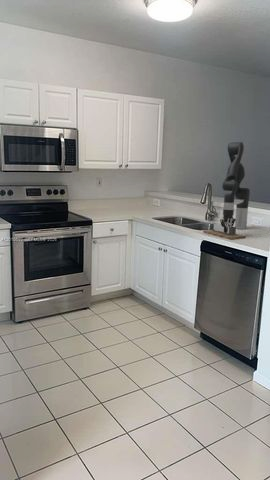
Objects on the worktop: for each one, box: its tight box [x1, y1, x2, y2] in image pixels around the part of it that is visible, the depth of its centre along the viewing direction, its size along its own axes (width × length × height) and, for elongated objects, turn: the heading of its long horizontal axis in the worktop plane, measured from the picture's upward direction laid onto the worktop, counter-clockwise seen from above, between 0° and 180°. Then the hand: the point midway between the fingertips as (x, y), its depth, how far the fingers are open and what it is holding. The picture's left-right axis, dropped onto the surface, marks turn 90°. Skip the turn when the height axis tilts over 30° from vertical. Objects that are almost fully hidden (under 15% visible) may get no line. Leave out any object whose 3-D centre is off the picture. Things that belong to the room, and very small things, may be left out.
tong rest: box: [202, 222, 247, 241], centre depth 286 cm, size 30×14×8 cm, turn 30°
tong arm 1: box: [214, 223, 235, 234], centre depth 284 cm, size 20×2×5 cm, turn 31°
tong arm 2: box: [215, 222, 237, 234], centre depth 286 cm, size 20×2×5 cm, turn 29°
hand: (227, 232), depth 283 cm, fingers closed
